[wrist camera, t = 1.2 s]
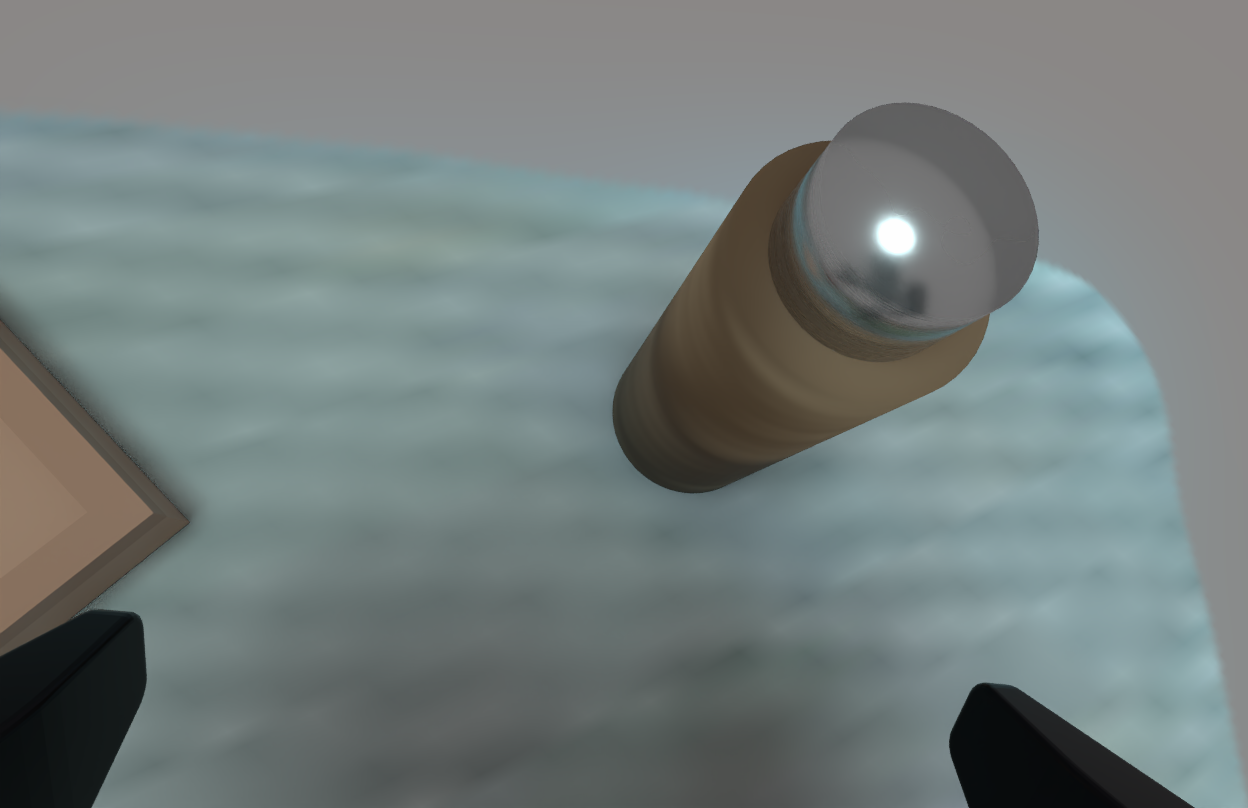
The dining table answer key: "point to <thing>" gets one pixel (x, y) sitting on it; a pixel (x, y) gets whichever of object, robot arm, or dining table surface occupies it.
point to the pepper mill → (829, 297)
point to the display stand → (63, 502)
